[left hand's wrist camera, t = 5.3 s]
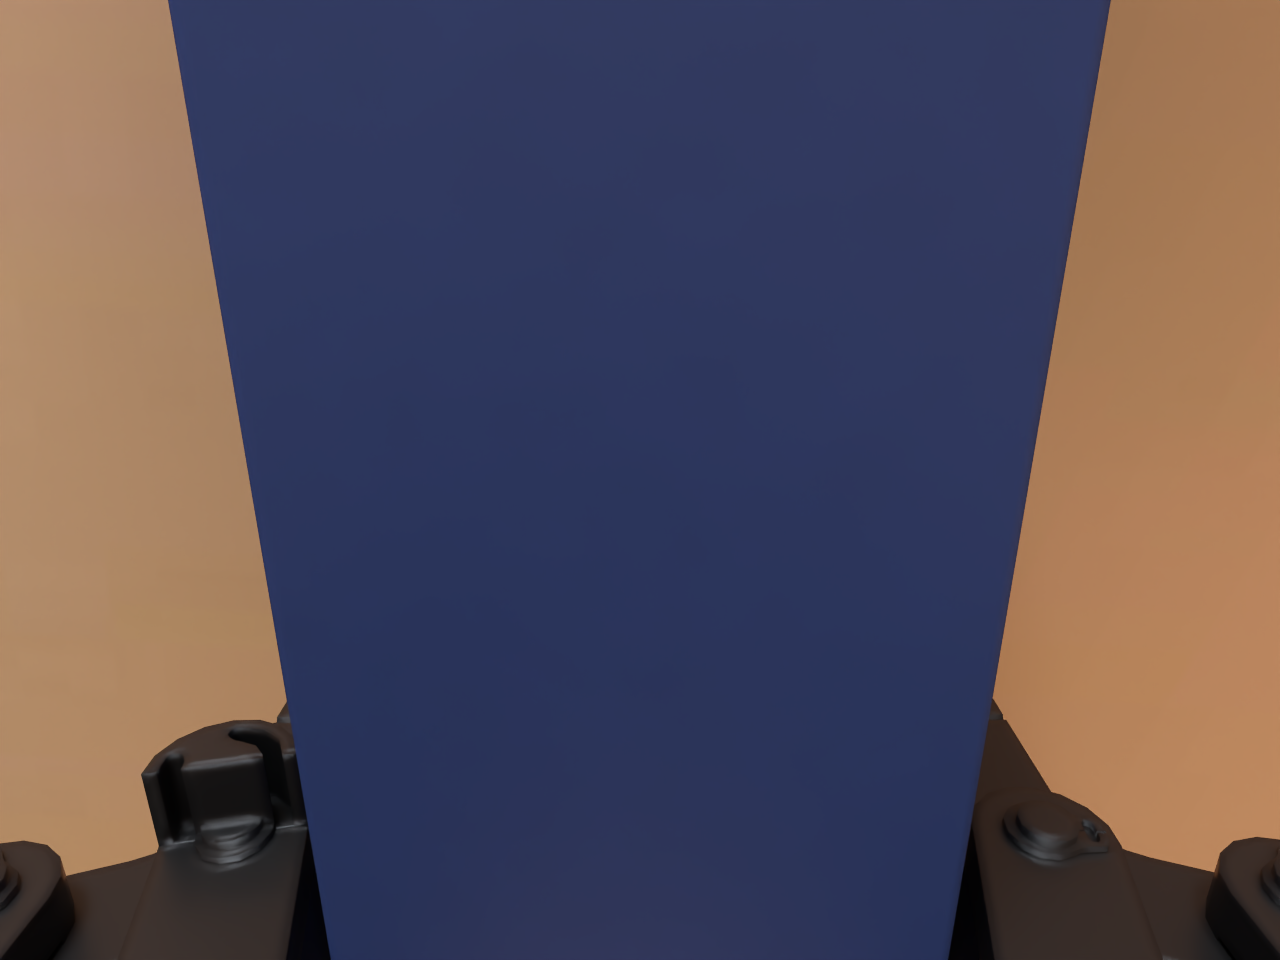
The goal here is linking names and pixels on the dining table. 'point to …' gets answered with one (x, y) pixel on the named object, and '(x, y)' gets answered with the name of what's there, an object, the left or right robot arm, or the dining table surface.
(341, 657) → the bar
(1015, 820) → the left robot arm
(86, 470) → the dining table surface
